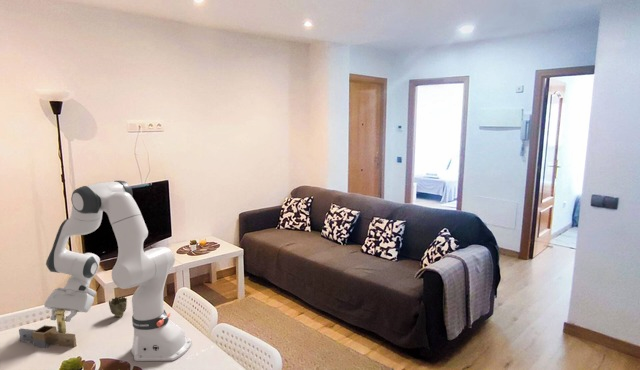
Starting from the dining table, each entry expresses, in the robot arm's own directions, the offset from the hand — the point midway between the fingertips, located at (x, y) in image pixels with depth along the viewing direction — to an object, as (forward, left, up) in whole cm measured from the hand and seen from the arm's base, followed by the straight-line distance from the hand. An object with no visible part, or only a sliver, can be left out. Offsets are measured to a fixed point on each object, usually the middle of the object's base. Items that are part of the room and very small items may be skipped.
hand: (59, 320), depth 162 cm
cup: (-14, -18, -6) cm, 23 cm away
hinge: (0, +7, -6) cm, 9 cm away
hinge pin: (0, -1, -6) cm, 6 cm away
